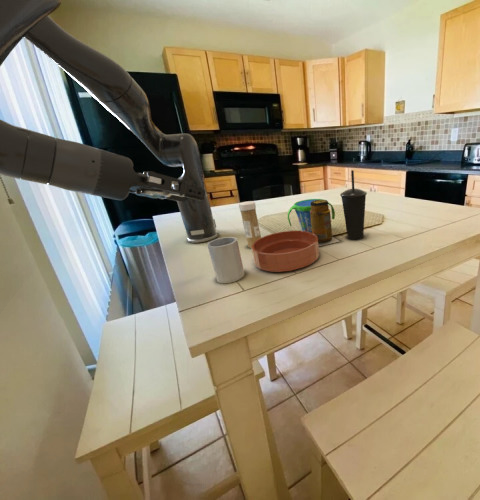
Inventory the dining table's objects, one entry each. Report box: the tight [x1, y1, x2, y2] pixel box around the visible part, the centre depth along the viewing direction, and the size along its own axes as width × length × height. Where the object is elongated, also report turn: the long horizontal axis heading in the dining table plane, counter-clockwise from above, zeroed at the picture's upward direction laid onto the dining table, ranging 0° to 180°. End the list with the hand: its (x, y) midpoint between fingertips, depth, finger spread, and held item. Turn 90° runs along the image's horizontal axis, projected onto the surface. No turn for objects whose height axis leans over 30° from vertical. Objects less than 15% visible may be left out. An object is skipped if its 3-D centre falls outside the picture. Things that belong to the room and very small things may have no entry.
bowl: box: [250, 230, 320, 273], centre depth 71 cm, size 17×17×5 cm
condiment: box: [310, 199, 340, 247], centre depth 81 cm, size 7×8×12 cm
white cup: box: [206, 236, 245, 284], centre depth 63 cm, size 6×6×9 cm
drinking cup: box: [339, 170, 368, 241], centre depth 80 cm, size 8×8×20 cm
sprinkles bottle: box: [238, 200, 262, 249], centre depth 81 cm, size 5×5×13 cm
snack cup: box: [287, 198, 336, 233], centre depth 90 cm, size 16×10×10 cm
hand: (193, 196), depth 56 cm, fingers open, 8 cm apart
